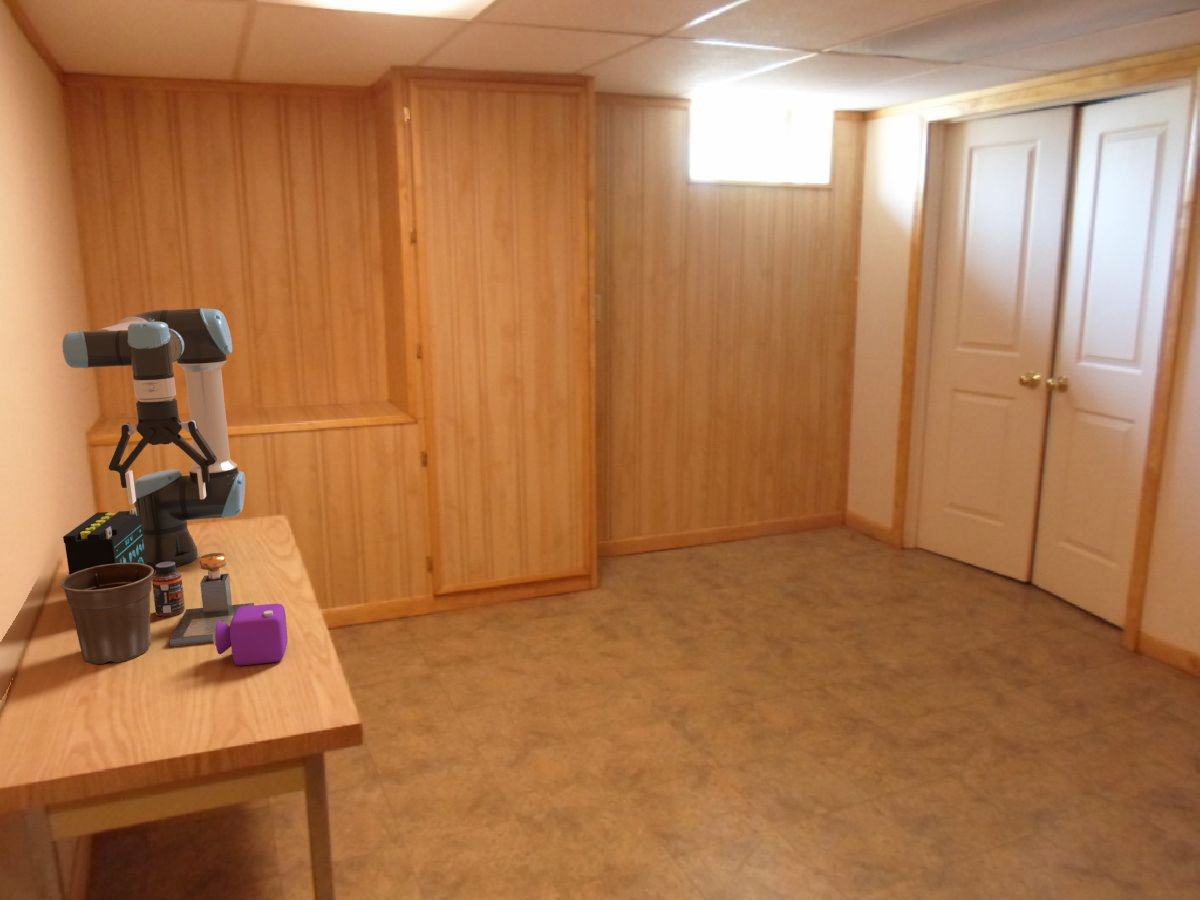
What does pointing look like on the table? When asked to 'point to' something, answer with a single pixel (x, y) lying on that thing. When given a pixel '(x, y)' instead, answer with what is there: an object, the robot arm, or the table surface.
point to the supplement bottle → (168, 590)
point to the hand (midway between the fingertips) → (168, 500)
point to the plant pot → (111, 610)
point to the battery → (106, 541)
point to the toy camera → (254, 634)
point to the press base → (207, 613)
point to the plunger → (213, 565)
